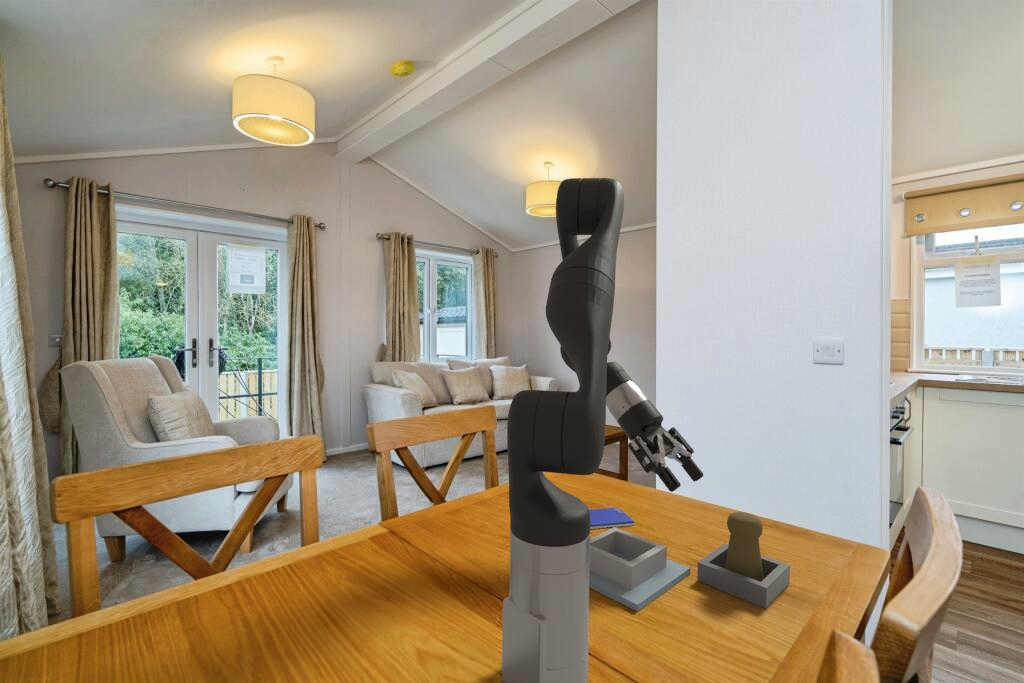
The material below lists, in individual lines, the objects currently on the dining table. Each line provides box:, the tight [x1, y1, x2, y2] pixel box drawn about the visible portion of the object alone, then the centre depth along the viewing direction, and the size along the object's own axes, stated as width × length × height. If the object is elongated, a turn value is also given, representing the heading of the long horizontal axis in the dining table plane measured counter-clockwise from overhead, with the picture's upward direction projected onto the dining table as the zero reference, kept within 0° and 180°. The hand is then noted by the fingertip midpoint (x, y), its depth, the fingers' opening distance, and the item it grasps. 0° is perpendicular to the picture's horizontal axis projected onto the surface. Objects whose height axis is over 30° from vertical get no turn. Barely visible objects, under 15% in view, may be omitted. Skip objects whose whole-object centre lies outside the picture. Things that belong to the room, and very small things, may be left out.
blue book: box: [589, 507, 635, 530], centre depth 102 cm, size 2×8×12 cm
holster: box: [696, 543, 791, 609], centre depth 77 cm, size 10×10×3 cm
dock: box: [589, 527, 691, 612], centre depth 80 cm, size 16×16×4 cm
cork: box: [724, 511, 765, 582], centre depth 77 cm, size 6×6×11 cm
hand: (688, 483), depth 84 cm, fingers open, 8 cm apart
